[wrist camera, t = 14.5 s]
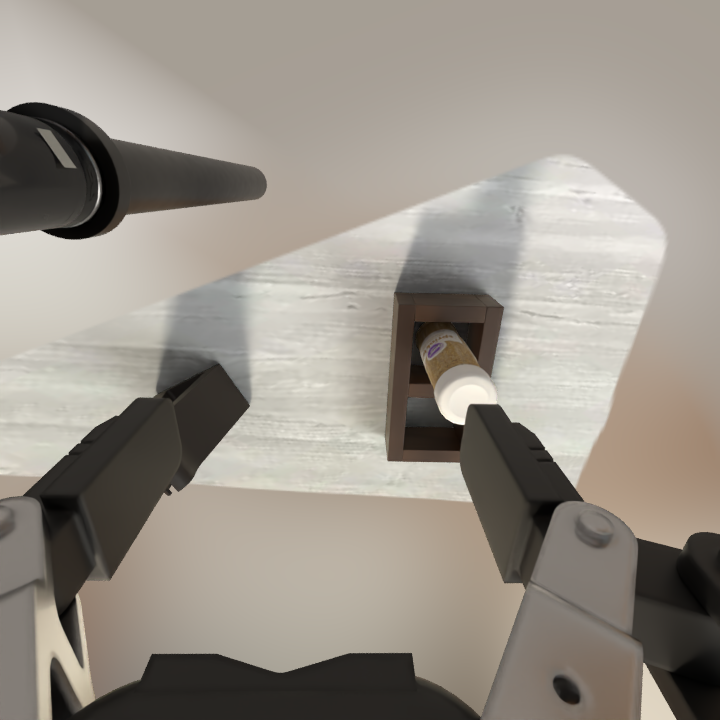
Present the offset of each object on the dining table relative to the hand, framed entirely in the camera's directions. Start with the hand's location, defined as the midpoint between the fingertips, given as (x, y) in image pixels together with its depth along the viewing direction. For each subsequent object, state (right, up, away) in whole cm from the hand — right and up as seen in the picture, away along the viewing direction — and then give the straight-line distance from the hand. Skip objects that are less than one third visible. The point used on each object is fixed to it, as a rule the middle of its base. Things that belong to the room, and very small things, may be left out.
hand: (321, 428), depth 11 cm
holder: (+9, +1, +32) cm, 33 cm away
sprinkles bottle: (+9, +4, +31) cm, 32 cm away
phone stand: (-17, -3, +34) cm, 38 cm away
